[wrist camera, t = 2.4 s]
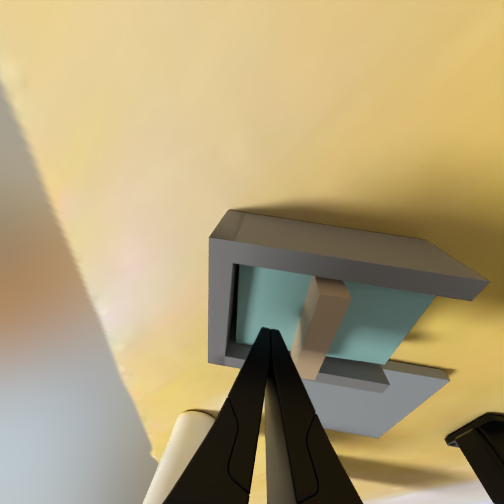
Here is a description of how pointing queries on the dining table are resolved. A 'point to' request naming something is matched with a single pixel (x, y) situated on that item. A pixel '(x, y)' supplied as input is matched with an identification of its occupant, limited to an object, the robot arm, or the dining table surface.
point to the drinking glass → (178, 453)
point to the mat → (375, 400)
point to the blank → (325, 316)
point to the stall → (327, 266)
